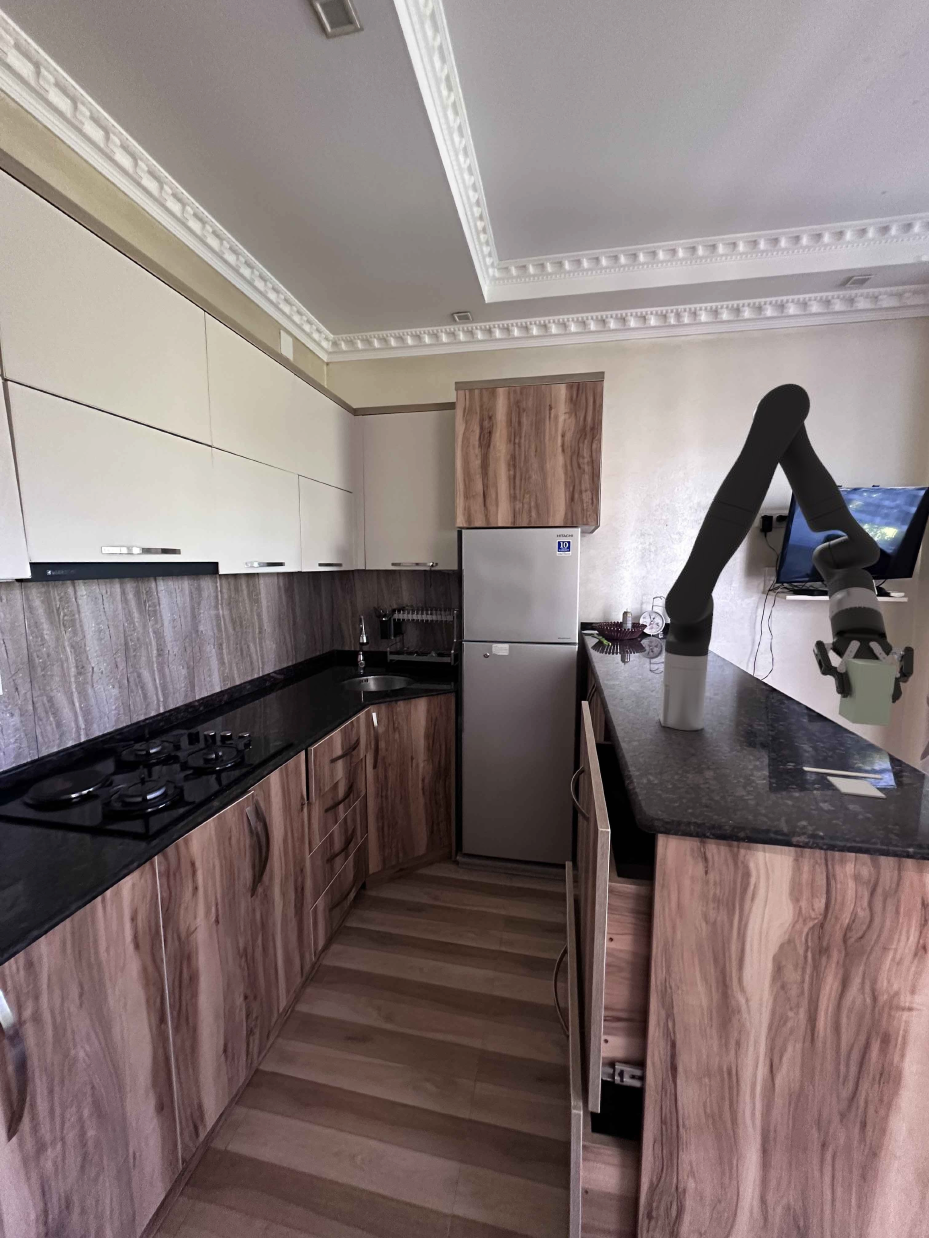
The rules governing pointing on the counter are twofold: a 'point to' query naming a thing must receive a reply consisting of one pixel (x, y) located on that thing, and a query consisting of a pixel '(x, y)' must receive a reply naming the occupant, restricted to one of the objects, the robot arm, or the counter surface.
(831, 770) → the pale grey thin rod
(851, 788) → the mat
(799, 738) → the counter surface
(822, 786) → the counter surface
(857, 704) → the sage block
